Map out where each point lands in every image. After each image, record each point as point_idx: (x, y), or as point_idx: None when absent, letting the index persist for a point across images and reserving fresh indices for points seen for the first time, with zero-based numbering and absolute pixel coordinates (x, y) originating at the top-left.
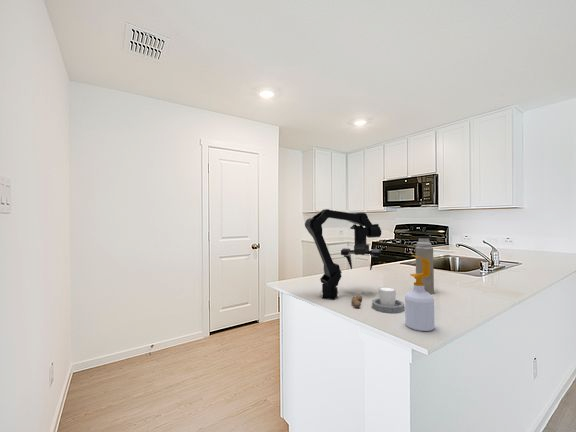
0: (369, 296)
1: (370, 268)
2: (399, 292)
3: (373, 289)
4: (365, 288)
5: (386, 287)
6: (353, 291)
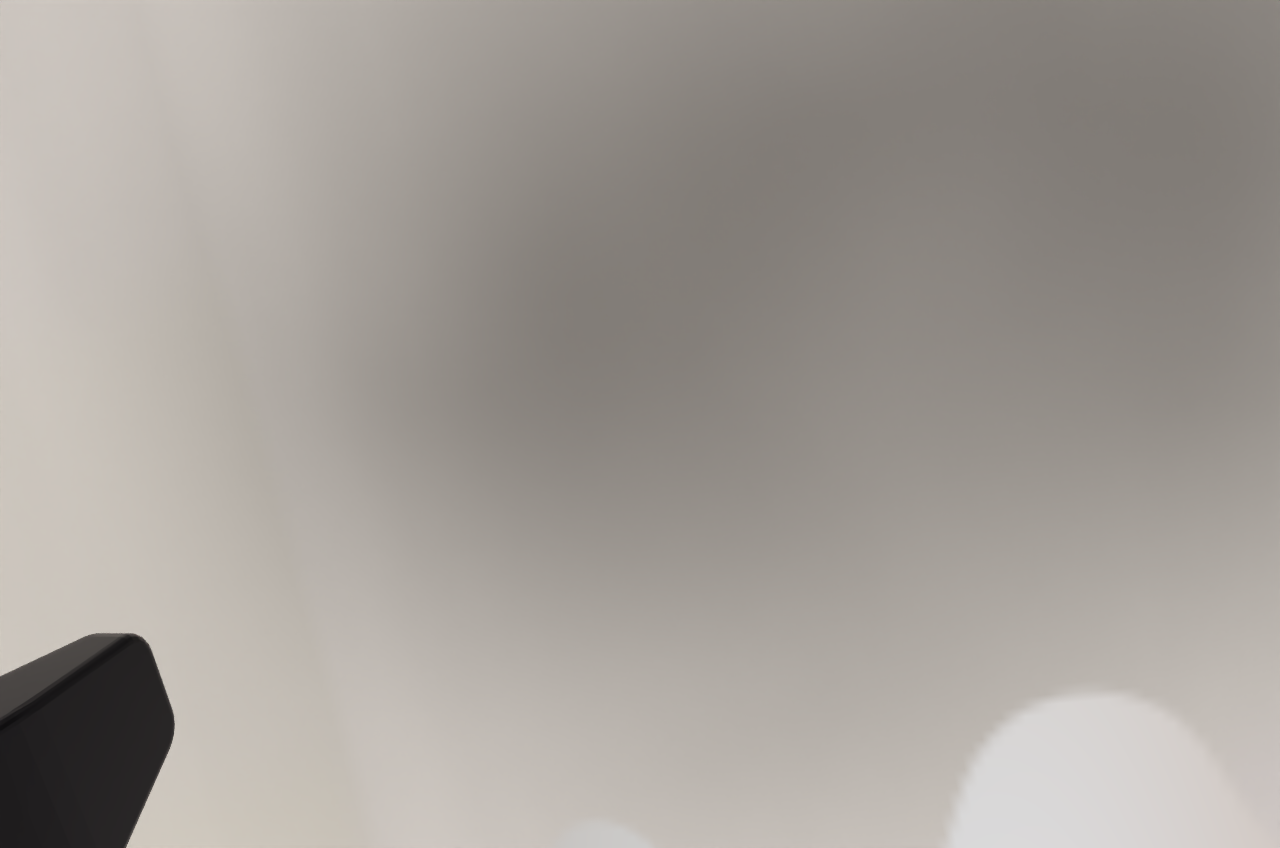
0: (531, 52)
1: (52, 673)
2: (12, 636)
3: (569, 730)
4: (769, 770)
5: None
6: (1059, 419)
